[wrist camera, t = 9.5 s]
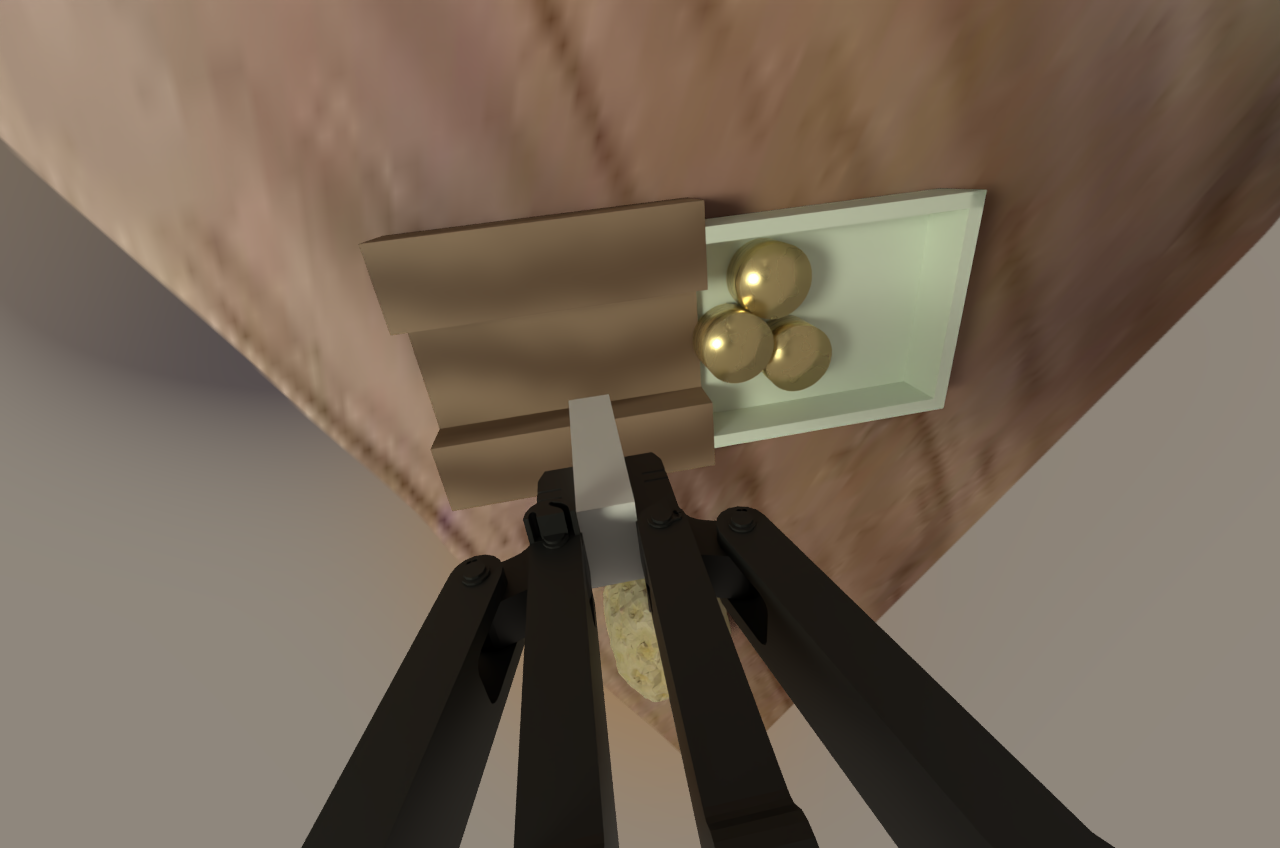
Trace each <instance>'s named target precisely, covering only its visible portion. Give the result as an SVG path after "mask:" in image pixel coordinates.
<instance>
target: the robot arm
mask: <svg viewBox="0 0 1280 848" xmlns="http://www.w3.org/2000/svg"><path fill="white" fill-rule="evenodd" d="M569 415H570V429H571V444H572V459H573V467H568V468H562V469H556V470H550V471H545V472H544V473H543V475H542V476H541V478H540V479H539V481H538V488H537V493H538V494H537V504H535V505H533V506H532V507H531V508H530V509H529V510H528V511H527V512H526V513H525V516H524V518H523V521H524V525H525V528H526V532H527V535H528V539H529V542H530V546H529V547H528V548H527V549H526V550H524V551H523V552H522V553H520V554H518V555H516V556H515V557H513V558H510V559H508V560H506V561H503V562H501V561H500V560H499V559H498V558H496V557H495V556H491V555H479V556H474V557H472V558H469V559H467V560H465V561H463V562H462V563H461V564H459V565H458V566H457V567H456V568H455V569H454V570H453V571H452V573H451V574H450V576H449V577H448V580H447V581H446V583H445V585H444V587H443V589H442V590H441V592H440V594H439V596H438V598H437V600H436V601H435V603H434V605H433V607H432V609H431V611H430V613H429V614H428V616H427V618H426V620H425V622H424V623H423V625H422V627H421V629H420V631H419V633H418V635H417V636H416V638H415V640H414V642H413V644H412V645H411V647H410V649H409V651H408V653H407V655H406V656H405V658H404V660H403V662H402V664H401V666H400V668H399V669H398V671H397V673H396V675H395V677H394V679H393V680H392V682H391V684H390V686H389V688H388V690H387V692H386V693H385V695H384V697H383V699H382V701H381V702H380V704H379V706H378V708H377V710H376V712H375V713H374V715H373V717H372V719H371V721H370V723H369V724H368V726H367V728H366V730H365V732H364V734H363V735H362V737H361V739H360V741H359V743H358V745H357V747H356V748H355V750H354V752H353V754H352V756H351V757H350V759H349V761H348V763H347V765H346V767H345V769H344V770H343V772H342V774H341V776H340V778H339V780H338V781H337V784H336V785H335V787H334V789H333V791H332V792H331V794H330V796H329V798H328V800H327V802H326V804H325V805H324V807H323V809H322V811H321V813H320V814H319V816H318V818H317V820H316V822H315V824H314V825H313V828H312V829H311V831H310V833H309V835H308V837H307V838H306V840H305V842H304V844H303V846H302V848H459V847H460V843H461V840H462V837H463V834H464V831H465V828H466V825H467V822H468V818H469V815H470V812H471V809H472V806H473V803H474V800H475V797H476V794H477V791H478V787H479V784H480V781H481V778H482V775H483V772H484V769H485V766H486V762H487V759H488V756H489V753H490V750H491V746H492V744H493V740H494V738H495V734H496V731H497V728H498V725H499V722H500V719H501V716H502V712H503V709H504V706H505V703H506V700H507V697H508V694H509V691H510V687H511V684H512V681H513V678H514V675H515V672H516V669H517V665H518V663H519V660H520V656H521V653H522V650H523V647H524V644H525V649H524V664H523V684H522V703H521V722H520V740H519V741H520V742H519V759H518V777H517V797H516V815H515V834H514V848H619V842H618V832H617V822H616V812H615V803H614V792H613V782H612V772H611V762H610V752H609V742H608V732H607V721H606V712H605V703H604V702H605V701H604V692H603V681H602V671H601V661H600V651H599V641H598V631H597V621H596V611H595V602H594V598H593V593H592V588H597V587H603V586H608V585H613V584H618V583H623V582H628V581H633V580H639V579H644V578H645V583H646V591H647V598H648V605H649V612H651V615H652V620H653V624H654V629H655V634H656V638H657V643H658V648H659V652H660V657H661V662H662V666H663V671H664V676H665V680H666V685H667V690H668V694H669V699H670V704H671V708H672V713H673V718H674V722H675V727H676V732H677V736H678V741H679V746H680V750H681V755H682V759H683V764H684V769H685V773H686V778H687V783H688V787H689V792H690V797H691V802H692V806H693V811H694V816H695V820H696V825H697V829H698V834H699V839H700V844H701V848H819V846H818V843H817V841H816V838H815V836H814V833H813V831H812V829H811V826H810V824H809V822H808V820H807V818H806V816H805V815H804V813H803V811H802V809H800V808H799V807H798V806H797V805H796V804H795V803H794V802H793V800H792V798H791V796H790V794H789V791H788V789H787V786H786V783H785V781H784V778H783V775H782V773H781V770H780V767H779V765H778V762H777V760H776V756H775V754H774V751H773V748H772V746H771V743H770V740H769V738H768V735H767V732H766V729H765V727H764V724H763V721H762V719H761V716H760V713H759V711H758V708H757V705H756V702H755V700H754V697H753V694H752V692H751V689H750V686H749V684H748V681H747V678H746V676H745V673H744V670H743V667H742V665H741V662H740V659H739V657H738V654H737V651H736V649H735V646H734V643H733V640H732V638H731V635H730V632H729V630H728V627H727V624H726V622H725V619H724V616H723V613H722V611H721V608H720V605H719V603H718V600H717V598H720V600H721V603H722V604H723V606H724V607H725V608H726V610H727V611H728V612H729V614H730V615H731V617H732V618H733V619H734V621H735V622H736V624H737V625H738V626H739V628H740V629H741V630H742V632H743V633H744V635H745V636H746V637H747V639H748V640H749V642H750V643H751V644H752V646H753V647H754V648H755V650H756V651H757V653H758V654H759V655H760V657H761V658H762V660H763V661H764V662H765V664H766V665H767V666H768V668H769V669H770V671H771V672H772V673H773V675H774V676H775V678H776V679H777V680H778V682H779V683H780V684H781V686H782V687H783V689H784V690H785V691H786V693H787V694H788V696H789V697H790V698H791V700H792V701H793V702H794V704H795V705H796V707H797V708H798V709H799V711H800V712H801V713H802V715H803V716H804V717H805V719H806V720H807V722H808V723H809V725H810V726H811V727H812V729H813V730H814V731H815V733H816V734H817V736H818V737H819V738H820V740H821V741H822V743H823V744H824V745H825V747H826V748H827V749H828V751H829V752H830V754H831V755H832V756H833V758H834V759H835V761H836V762H837V763H838V765H839V766H840V768H841V769H842V770H843V772H844V773H845V774H846V776H847V777H848V779H849V780H850V781H851V783H852V784H853V786H854V787H855V788H856V790H857V791H858V792H859V794H860V795H861V797H862V798H863V799H864V801H865V802H866V804H867V805H868V806H869V808H870V809H871V810H872V812H873V813H874V815H875V816H876V817H877V819H878V820H879V821H880V823H881V824H882V826H883V827H884V828H885V830H886V831H887V833H888V834H889V835H890V837H891V838H892V839H893V841H894V842H895V844H896V845H897V846H898V848H1115V847H1113V846H1112V845H1110V844H1109V843H1107V842H1106V841H1104V840H1103V839H1101V838H1100V837H1098V836H1096V835H1095V834H1094V833H1092V832H1091V831H1090V830H1089V829H1088V828H1087V827H1086V826H1085V825H1084V824H1083V823H1082V822H1081V821H1080V820H1079V819H1078V818H1077V817H1076V816H1075V815H1074V814H1073V813H1072V812H1071V811H1069V810H1068V809H1067V808H1066V807H1065V806H1064V805H1063V804H1062V803H1061V802H1060V801H1059V800H1058V799H1057V798H1056V797H1055V796H1054V795H1053V794H1052V793H1051V792H1050V791H1049V790H1048V789H1046V787H1045V786H1044V785H1043V784H1042V783H1040V782H1039V780H1038V779H1036V778H1035V777H1034V776H1033V775H1032V774H1031V773H1030V772H1029V771H1028V770H1027V769H1026V768H1025V767H1024V766H1023V765H1022V764H1021V763H1020V762H1019V761H1018V760H1017V759H1016V758H1015V757H1014V756H1013V755H1012V754H1011V753H1010V752H1009V751H1007V749H1005V748H1004V747H1003V746H1002V745H1001V744H1000V743H999V742H998V741H997V740H996V739H995V738H994V737H993V736H992V735H991V734H990V733H989V732H988V731H987V730H986V729H985V728H984V727H983V726H981V724H980V723H979V722H978V721H977V720H976V719H974V718H973V717H972V716H971V715H970V714H969V713H968V712H967V711H966V710H965V709H964V708H963V707H962V706H961V705H960V704H959V703H958V702H957V701H956V700H955V699H954V698H953V697H952V696H951V695H950V694H949V693H948V692H947V691H945V690H944V689H943V688H942V687H941V686H940V685H939V684H938V683H937V682H936V681H935V680H934V679H933V678H932V677H931V676H930V675H929V674H928V673H927V672H926V671H925V670H924V669H923V668H922V667H921V666H920V665H919V664H918V663H916V661H915V660H913V659H912V658H911V657H910V656H909V655H908V654H907V653H906V652H905V651H904V650H903V649H902V648H901V647H900V646H899V645H898V644H897V643H896V642H895V641H894V640H893V639H892V638H891V637H890V636H889V635H888V634H887V633H885V631H884V630H882V629H881V628H880V627H879V626H878V625H877V624H876V623H875V622H874V621H873V620H872V619H871V618H870V617H869V616H868V615H867V614H866V613H865V612H864V611H863V610H862V609H861V608H860V607H859V606H858V605H857V604H856V603H855V602H854V601H853V600H852V599H850V598H849V597H848V596H847V595H846V594H845V593H844V592H843V591H842V590H841V589H840V588H839V587H838V586H837V585H836V584H835V583H834V582H833V581H832V580H831V579H830V578H829V577H828V576H827V575H826V574H825V573H824V572H823V571H822V570H821V569H819V568H818V567H817V566H816V565H815V564H814V563H813V562H812V561H811V560H810V559H809V558H808V557H807V556H806V555H805V554H804V553H803V552H802V551H801V550H800V549H799V548H798V547H797V546H796V545H795V544H794V543H793V542H792V541H791V540H790V539H789V538H787V537H786V536H785V535H784V534H783V533H782V532H781V531H780V530H779V529H778V528H777V527H776V526H775V525H774V524H773V523H772V522H771V521H770V520H769V519H768V518H767V517H766V516H765V515H764V514H762V513H761V512H759V511H758V510H756V509H753V508H749V507H738V506H737V507H733V508H728V509H727V510H725V511H723V512H721V513H720V515H719V516H718V517H717V521H709V520H699V519H695V518H692V517H689V516H688V515H686V514H685V513H684V511H683V510H682V509H681V508H679V506H678V504H677V501H676V498H675V495H674V493H673V490H672V487H671V484H670V482H669V479H668V476H667V473H666V471H665V468H664V465H663V462H662V460H661V459H660V458H659V457H658V456H657V455H655V454H654V453H653V452H649V453H643V454H637V455H631V456H626V457H624V456H623V451H622V447H621V443H620V439H619V435H618V431H617V426H616V422H615V418H614V414H613V410H612V406H611V401H610V397H609V394H607V395H600V396H594V397H588V398H581V399H575V400H569Z"/></svg>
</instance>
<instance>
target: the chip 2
mask: <svg viewBox="0 0 1280 848" xmlns="http://www.w3.org/2000/svg"><path fill="white" fill-rule="evenodd" d="M693 348H694V351H695V354H696V355H697V357H698V358H699V360H700V361H701V362H702V363H703V364H704V365H705V366H706V367H707V369H708V370H709V371H710V372H711V373H712V374H713V375H714V376H715V377H716V378H717V379H719V380H721V381H723V382H727V383H742V382H746V381H748V380H750V379H752V378H754V377H755V376H757V375H758V374H759V373H761V372H762V370H763V369H764V368H765V367H766V366H767V364H768V362H769V361H770V358H771V356H772V353H773V348H774V339H773V334H772V332H771V329H770V328H769V326H768V325H767V323H766V322H765V321H764V320H762V319H761V318H759V317H758V316H756V315H754V314H753V313H751V312H750V311H748V310H746V309H745V308H743V307H741V306H739V305H736V304H721V305H718V306H715V307H713V308H711V309H710V310H708V311H707V312H706V313H705V314H704V315H703V316H702V317H701V318H700V319H699V321H698V322H697V324H696V326H695V329H694V332H693Z"/></svg>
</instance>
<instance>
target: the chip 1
mask: <svg viewBox="0 0 1280 848" xmlns="http://www.w3.org/2000/svg"><path fill="white" fill-rule="evenodd" d="M726 282H727V288H728V291H729V293H730V295H731V296H732V298H733V299H734V300H735V301H736V302H737V303H738V304H740V305H741V306H743V307H744V308H745V309H747V310H748V311H750V312H751V313H753V314H754V315H756V316H758V317H760V318H764V319H778V318H782V317H784V316H787V315H789V314H790V313H792V312H793V311H795V310H796V309H797V308H798V307H799V306H800V305H801V304H802V302H803V301H804V300H805V298H806V296H807V294H808V292H809V290H810V286H811V282H812V269H811V264H810V262H809V259H808V258H807V256H806V255H805V253H804V252H803V251H802V250H801V249H799V248H798V247H796V246H794V245H791V244H788V243H784V242H781V241H777V240H774V239H770V238H757V239H754V240H751V241H749V242H747V243H745V244H744V245H743V246H741V247H740V248H739V249H738V250H737V251H736V253H735V254H734V255H733V257H732V258H731V260H730V263H729V265H728V268H727V274H726Z"/></svg>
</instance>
